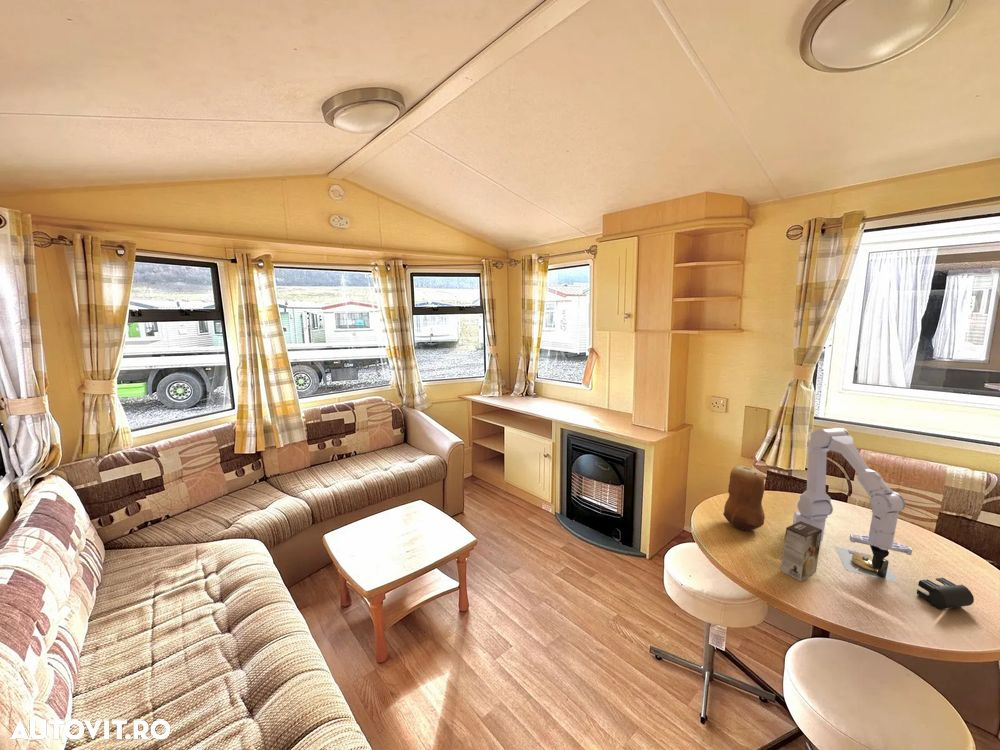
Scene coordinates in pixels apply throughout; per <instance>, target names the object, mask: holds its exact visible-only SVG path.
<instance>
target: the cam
mask: <svg viewBox="0 0 1000 750" xmlns="http://www.w3.org/2000/svg"><path fill="white" fill-rule="evenodd" d="M872 559H873V557H870V556H867V555H863V554H853V555H852V562H853V563H854V564H855V565H856V566H858V567H860V568H862V569H864V570H867V571H870V572H875V573H878V574H877V575H878V576H880V577H882V578H886V574H887V568H888V567H889V560H887V559H885V558H884V559H883V560H882V561H881V565H880V570H878V569H874V568H873V566H872Z"/></svg>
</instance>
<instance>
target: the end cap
mask: <svg viewBox="0 0 1000 750" xmlns="http://www.w3.org/2000/svg"><path fill="white" fill-rule="evenodd" d="M935 580H936V581H937V582H939V583H940V584H937V583H936V582H933V581H932V580H930V579H927V578H926V579H921V580H919V581H918V583H917V586H918V587H920V588H921V589H924V590H925V591H926V592H924V591H923V590H921V589H919V588H918V589H916V595H918V596H920V597H921V598H923V599H925V600H926V601H928V602H929V603H930V606H932V607H933V608H935V609H937V610H943V609H944V610H945V609H954V608H960V607H961V608H962V607H968V606H971V605H973V604H974V601H975V599H974V595H973V593H972V592H971V590H970V589H969V588H968V587H967V586H966V585H963V584H955V583H954V582H952V581H950V580H949V579H946V578H945V577H938V578H935ZM941 584H942V585H941Z"/></svg>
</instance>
